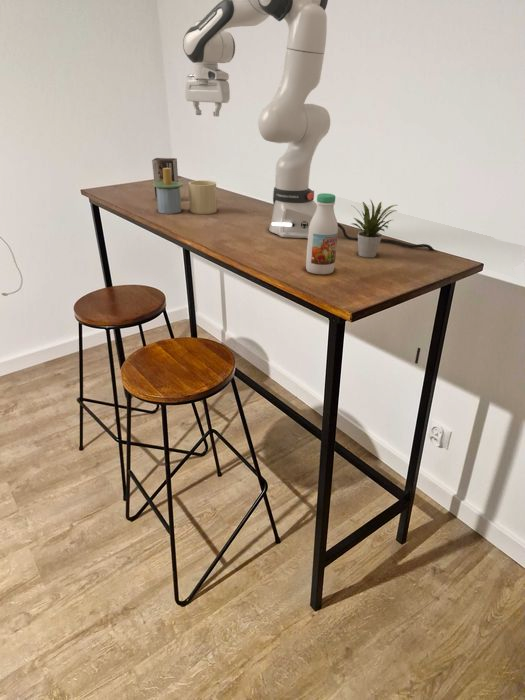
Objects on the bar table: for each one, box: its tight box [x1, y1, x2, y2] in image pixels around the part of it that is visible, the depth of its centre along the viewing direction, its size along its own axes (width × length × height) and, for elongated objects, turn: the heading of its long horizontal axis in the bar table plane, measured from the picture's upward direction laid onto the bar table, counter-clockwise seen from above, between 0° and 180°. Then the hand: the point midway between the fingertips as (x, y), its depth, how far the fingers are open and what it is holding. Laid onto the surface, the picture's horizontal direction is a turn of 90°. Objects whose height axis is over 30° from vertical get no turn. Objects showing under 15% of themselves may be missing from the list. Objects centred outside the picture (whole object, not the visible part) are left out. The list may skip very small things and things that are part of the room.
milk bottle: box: [305, 192, 339, 275], centre depth 124 cm, size 8×8×20 cm
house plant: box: [351, 199, 398, 259], centre depth 138 cm, size 14×14×16 cm
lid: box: [152, 168, 184, 189], centre depth 178 cm, size 11×11×7 cm
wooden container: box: [188, 180, 218, 215], centre depth 184 cm, size 10×10×10 cm
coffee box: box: [151, 157, 179, 201], centre depth 199 cm, size 9×6×16 cm
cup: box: [156, 187, 182, 215], centre depth 182 cm, size 9×9×9 cm
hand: (207, 115), depth 181 cm, fingers open, 8 cm apart
